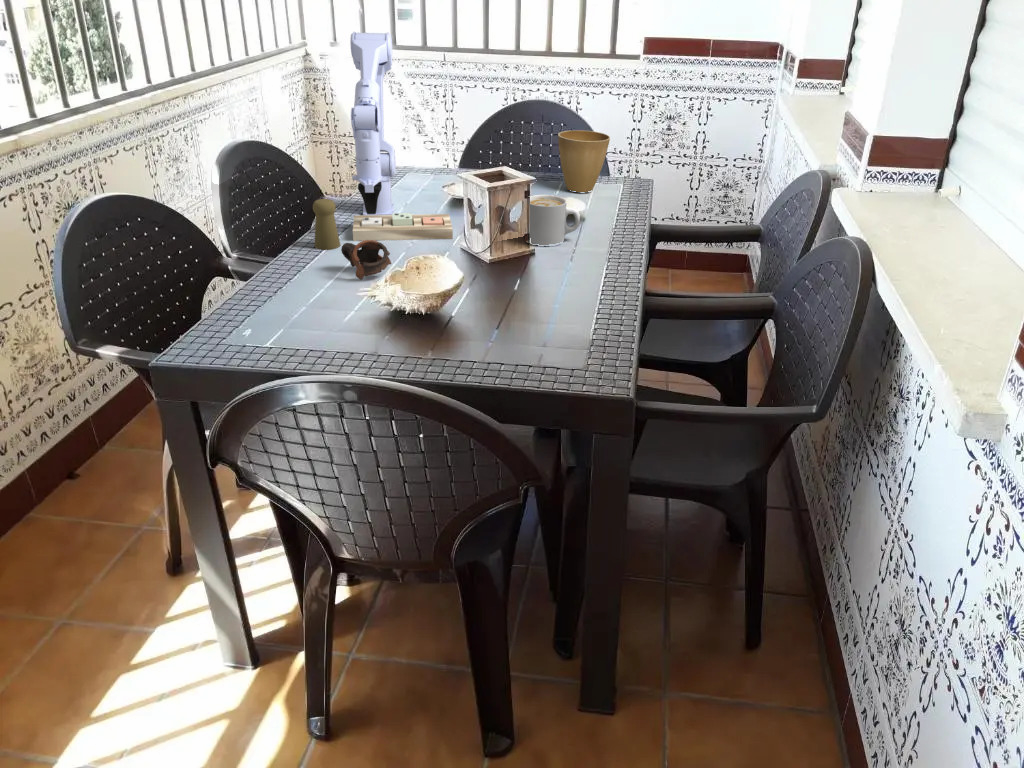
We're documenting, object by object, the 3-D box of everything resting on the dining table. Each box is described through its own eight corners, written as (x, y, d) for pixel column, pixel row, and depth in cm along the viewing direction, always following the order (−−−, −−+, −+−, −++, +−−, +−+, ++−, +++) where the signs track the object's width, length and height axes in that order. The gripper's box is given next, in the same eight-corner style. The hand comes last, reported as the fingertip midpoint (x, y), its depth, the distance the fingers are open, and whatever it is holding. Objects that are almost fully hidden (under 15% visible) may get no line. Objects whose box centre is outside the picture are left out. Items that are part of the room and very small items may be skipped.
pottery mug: (398, 268, 185) (398, 244, 177) (379, 298, 180) (378, 275, 173) (350, 248, 186) (348, 224, 179) (330, 278, 181) (327, 254, 174)
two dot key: (362, 229, 206) (362, 217, 204) (382, 229, 206) (381, 216, 205) (362, 235, 201) (361, 223, 200) (382, 235, 202) (381, 222, 201)
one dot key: (422, 228, 208) (422, 216, 206) (441, 228, 208) (441, 215, 207) (423, 234, 204) (423, 222, 202) (443, 234, 204) (442, 221, 203)
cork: (343, 242, 197) (340, 197, 192) (336, 250, 192) (332, 204, 186) (318, 240, 198) (314, 195, 192) (311, 249, 192) (306, 203, 187)
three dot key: (392, 225, 206) (392, 212, 205) (412, 224, 207) (411, 212, 205) (393, 231, 202) (392, 218, 200) (412, 230, 203) (412, 218, 201)
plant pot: (590, 200, 233) (594, 143, 226) (545, 191, 240) (548, 135, 233) (614, 189, 244) (619, 134, 237) (570, 180, 251) (574, 127, 244)
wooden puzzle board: (354, 225, 208) (354, 215, 207) (449, 223, 212) (448, 214, 210) (353, 240, 198) (352, 230, 197) (452, 238, 201) (452, 228, 200)
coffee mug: (520, 245, 199) (522, 204, 194) (527, 232, 207) (529, 193, 202) (575, 250, 197) (578, 209, 192) (580, 236, 205) (583, 197, 200)
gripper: (351, 150, 201) (355, 204, 207) (350, 165, 188) (354, 223, 195) (381, 150, 202) (383, 204, 208) (381, 165, 189) (384, 222, 196)
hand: (371, 213), depth 202 cm, fingers closed
